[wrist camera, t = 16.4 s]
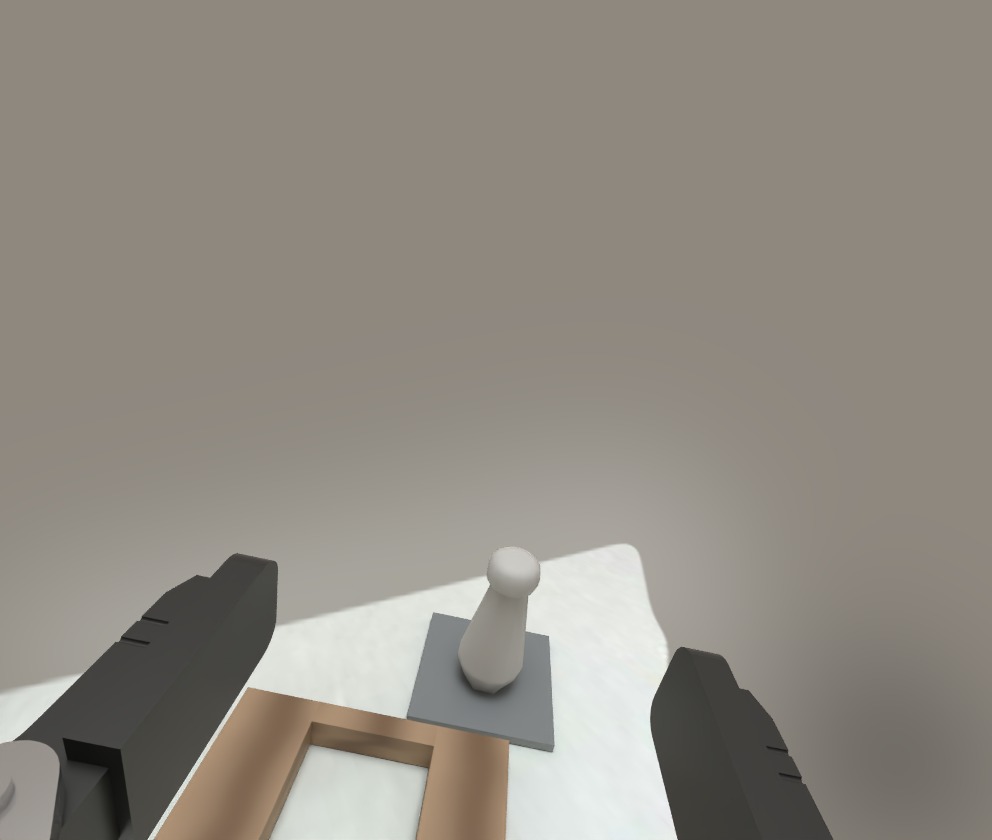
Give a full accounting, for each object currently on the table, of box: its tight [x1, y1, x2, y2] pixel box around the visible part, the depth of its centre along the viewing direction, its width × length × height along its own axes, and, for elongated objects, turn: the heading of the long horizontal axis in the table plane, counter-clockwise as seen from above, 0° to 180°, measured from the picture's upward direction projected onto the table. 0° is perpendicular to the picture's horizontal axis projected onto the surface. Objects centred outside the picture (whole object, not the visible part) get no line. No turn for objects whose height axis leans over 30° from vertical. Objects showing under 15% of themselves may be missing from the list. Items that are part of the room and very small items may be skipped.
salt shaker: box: [458, 547, 540, 694], centre depth 40 cm, size 6×6×13 cm
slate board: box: [406, 612, 554, 752], centre depth 43 cm, size 12×11×1 cm
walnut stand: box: [154, 687, 509, 840], centre depth 30 cm, size 20×12×2 cm, turn 86°
